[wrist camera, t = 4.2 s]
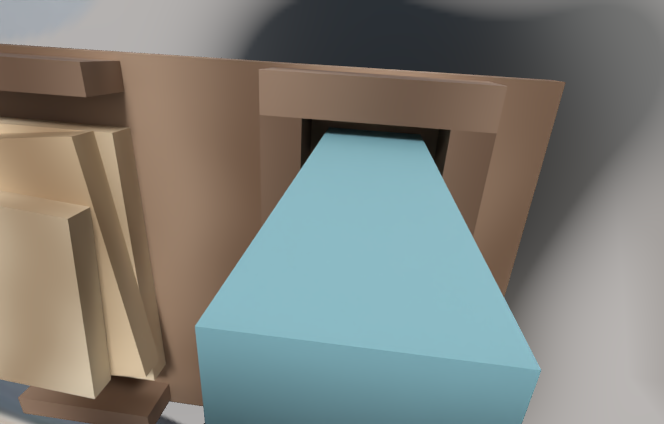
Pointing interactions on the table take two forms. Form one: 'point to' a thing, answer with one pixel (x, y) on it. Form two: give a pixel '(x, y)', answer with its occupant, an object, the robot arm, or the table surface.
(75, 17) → the table surface
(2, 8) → the table surface
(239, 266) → the teal panel
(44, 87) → the walnut rack
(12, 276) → the birch offcut stack
